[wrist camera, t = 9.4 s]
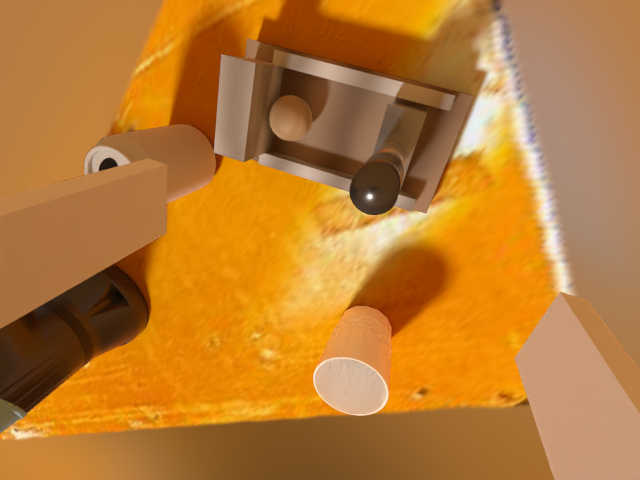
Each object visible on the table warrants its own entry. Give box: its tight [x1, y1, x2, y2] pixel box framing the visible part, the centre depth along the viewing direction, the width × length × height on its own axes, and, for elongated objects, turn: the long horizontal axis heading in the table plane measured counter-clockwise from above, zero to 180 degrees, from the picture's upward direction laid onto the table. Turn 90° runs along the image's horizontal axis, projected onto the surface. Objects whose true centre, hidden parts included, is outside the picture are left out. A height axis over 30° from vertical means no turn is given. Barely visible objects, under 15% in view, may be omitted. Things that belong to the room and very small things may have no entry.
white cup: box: [313, 306, 392, 415], centre depth 39 cm, size 8×8×10 cm
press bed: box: [214, 39, 473, 213], centre depth 31 cm, size 21×11×8 cm, turn 77°
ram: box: [349, 101, 427, 215], centre depth 25 cm, size 3×7×16 cm, turn 167°
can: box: [84, 124, 216, 203], centre depth 36 cm, size 8×8×12 cm
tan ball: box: [269, 95, 312, 141], centre depth 32 cm, size 4×4×4 cm
